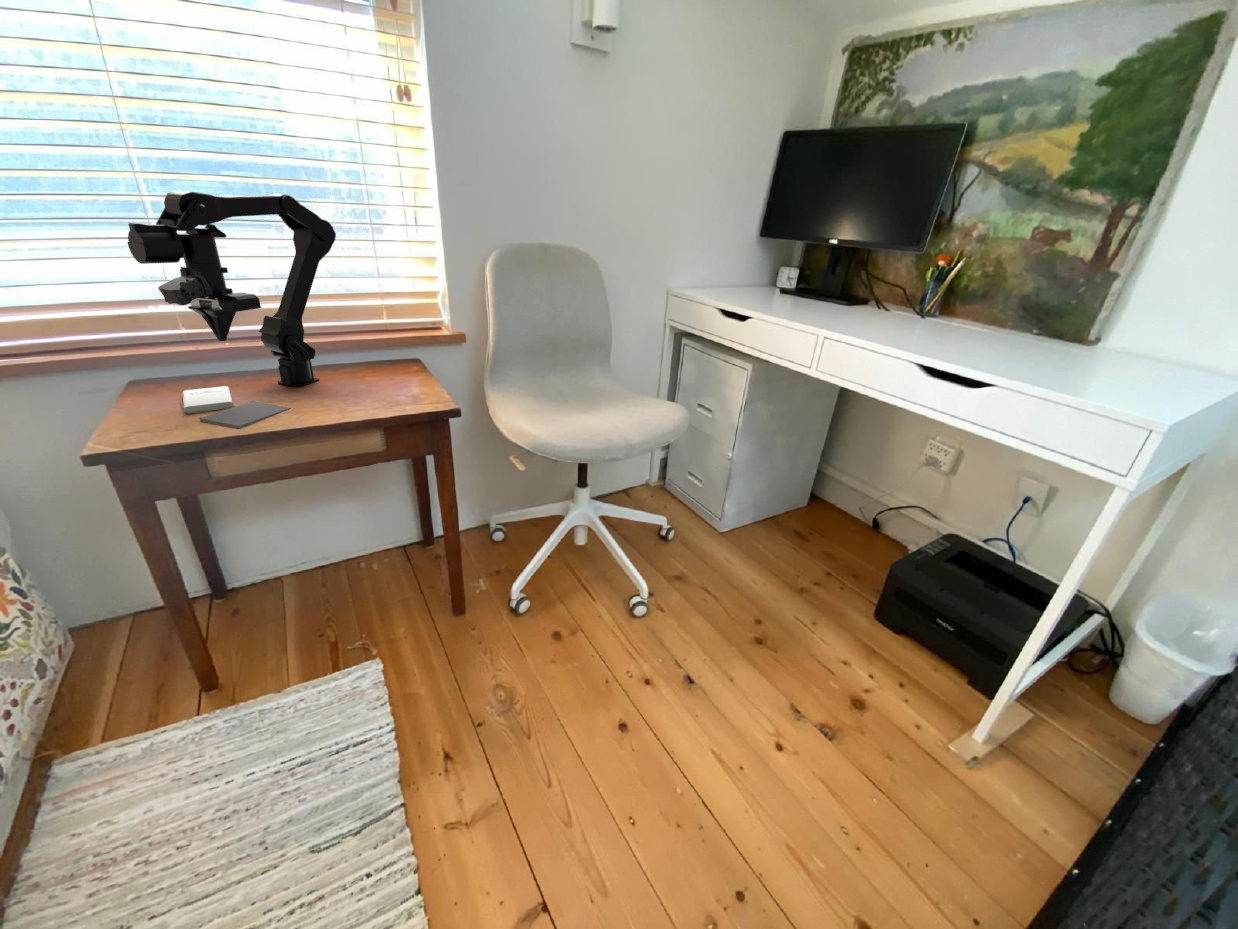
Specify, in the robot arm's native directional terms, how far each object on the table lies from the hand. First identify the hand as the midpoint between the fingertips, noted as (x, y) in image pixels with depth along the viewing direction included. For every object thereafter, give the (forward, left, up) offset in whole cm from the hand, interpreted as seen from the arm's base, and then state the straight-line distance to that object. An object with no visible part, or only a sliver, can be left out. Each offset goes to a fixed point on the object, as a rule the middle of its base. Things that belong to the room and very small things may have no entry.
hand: (222, 340), depth 112 cm
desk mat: (+6, +10, -13) cm, 18 cm away
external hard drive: (+8, +2, -12) cm, 15 cm away
